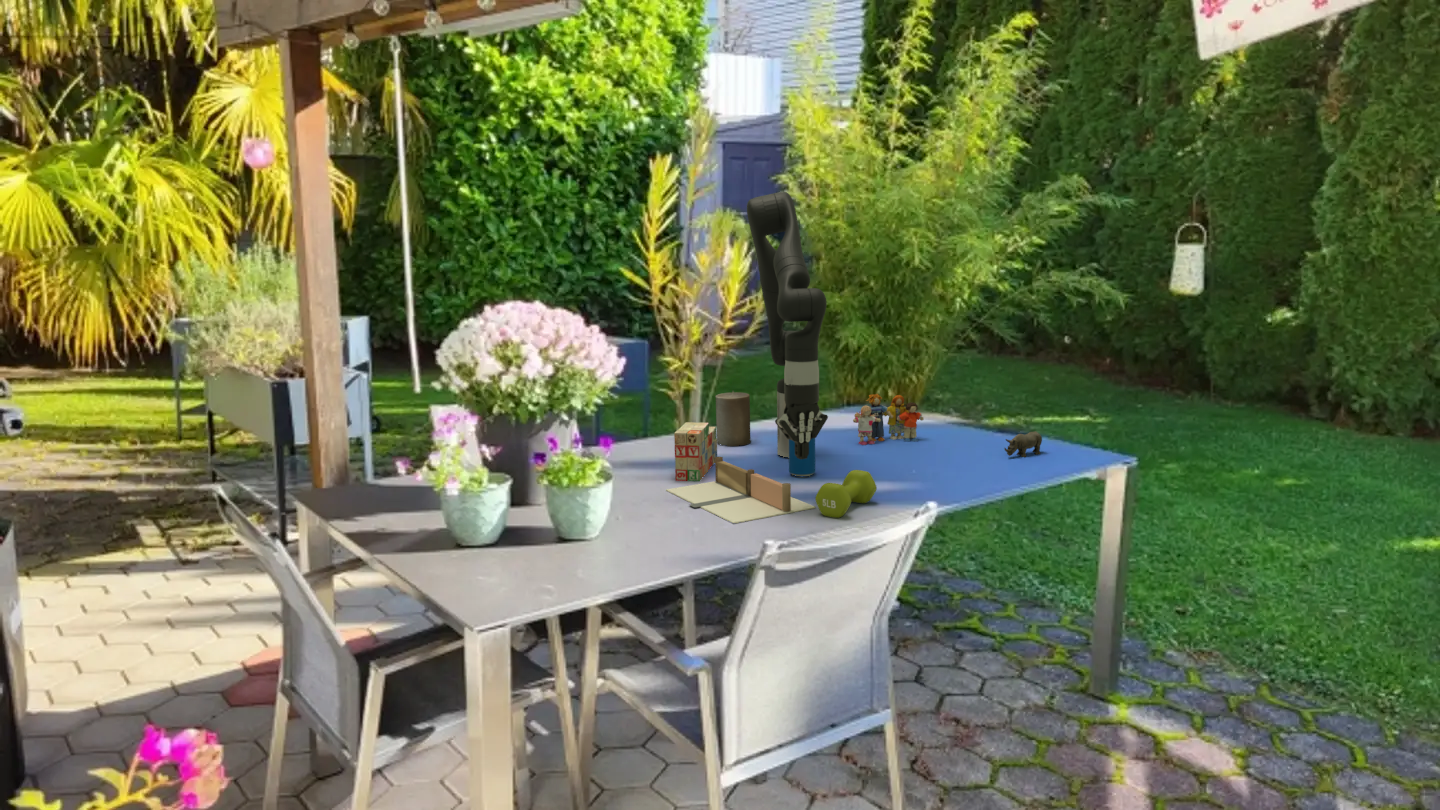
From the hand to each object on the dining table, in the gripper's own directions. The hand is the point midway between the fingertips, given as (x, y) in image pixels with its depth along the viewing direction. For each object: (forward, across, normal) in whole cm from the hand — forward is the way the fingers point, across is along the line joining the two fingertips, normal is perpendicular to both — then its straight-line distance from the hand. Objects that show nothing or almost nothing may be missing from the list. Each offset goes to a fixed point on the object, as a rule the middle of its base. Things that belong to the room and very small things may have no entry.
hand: (801, 458), depth 226 cm
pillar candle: (+10, -19, -62) cm, 66 cm away
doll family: (+10, -56, -41) cm, 71 cm away
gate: (+10, +6, -4) cm, 12 cm away
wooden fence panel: (+10, +6, -19) cm, 23 cm away
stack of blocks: (+11, +4, -40) cm, 42 cm away
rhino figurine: (+11, -74, -7) cm, 75 cm away
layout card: (+11, +9, -12) cm, 19 cm away
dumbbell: (+11, -7, +7) cm, 15 cm away
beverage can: (+11, -15, -22) cm, 29 cm away
